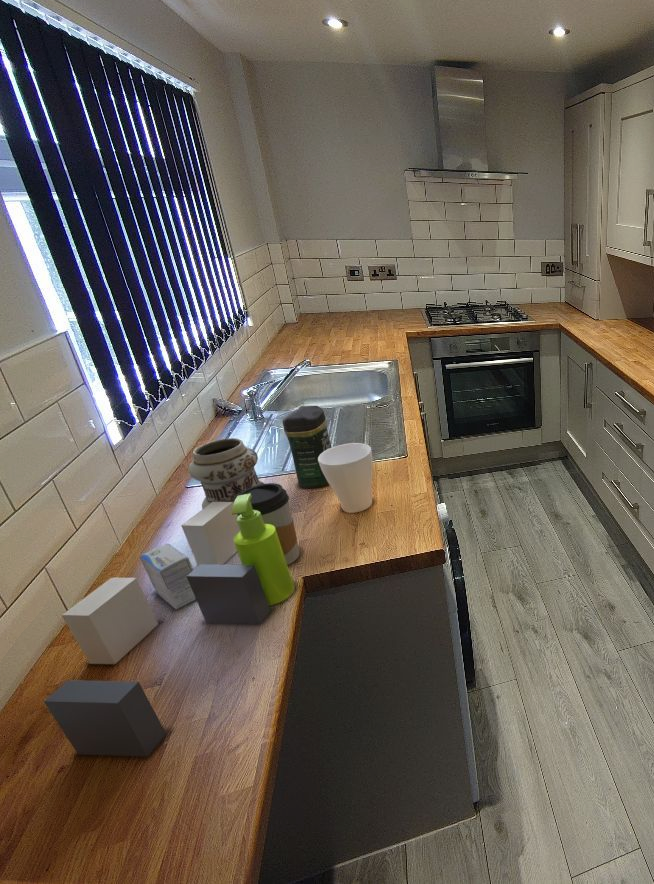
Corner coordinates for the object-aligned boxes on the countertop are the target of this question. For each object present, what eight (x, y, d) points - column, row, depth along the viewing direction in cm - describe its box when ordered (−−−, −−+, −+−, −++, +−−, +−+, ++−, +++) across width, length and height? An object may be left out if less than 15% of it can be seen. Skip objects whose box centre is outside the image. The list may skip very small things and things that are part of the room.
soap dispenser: (253, 616, 87) (214, 514, 79) (259, 590, 93) (224, 492, 84) (293, 606, 89) (259, 505, 81) (296, 581, 95) (265, 485, 86)
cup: (384, 491, 123) (373, 440, 117) (381, 515, 114) (369, 460, 108) (335, 499, 120) (321, 446, 115) (329, 524, 111) (313, 468, 105)
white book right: (199, 570, 98) (180, 525, 94) (228, 544, 105) (212, 501, 101) (220, 570, 98) (202, 525, 94) (247, 544, 105) (232, 501, 101)
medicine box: (206, 596, 91) (189, 556, 88) (176, 612, 88) (157, 571, 84) (185, 581, 95) (168, 541, 92) (156, 595, 92) (137, 555, 88)
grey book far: (206, 625, 85) (185, 576, 81) (219, 611, 88) (200, 563, 84) (260, 626, 85) (242, 577, 81) (271, 612, 88) (254, 564, 83)
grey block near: (79, 757, 65) (43, 701, 61) (101, 734, 68) (67, 679, 64) (149, 759, 65) (117, 703, 61) (168, 736, 68) (139, 681, 63)
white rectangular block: (90, 666, 78) (61, 615, 74) (136, 626, 85) (111, 577, 81) (116, 667, 78) (88, 615, 74) (159, 626, 85) (136, 577, 81)
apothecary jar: (243, 503, 119) (218, 431, 112) (289, 509, 117) (267, 435, 109) (196, 534, 108) (165, 457, 101) (246, 541, 106) (217, 462, 98)
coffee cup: (298, 542, 105) (278, 477, 99) (312, 560, 100) (292, 493, 94) (251, 561, 100) (227, 493, 94) (263, 581, 95) (238, 511, 88)
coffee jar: (330, 489, 125) (311, 417, 117) (295, 491, 124) (273, 419, 116) (343, 469, 133) (327, 401, 126) (311, 471, 133) (292, 403, 125)
